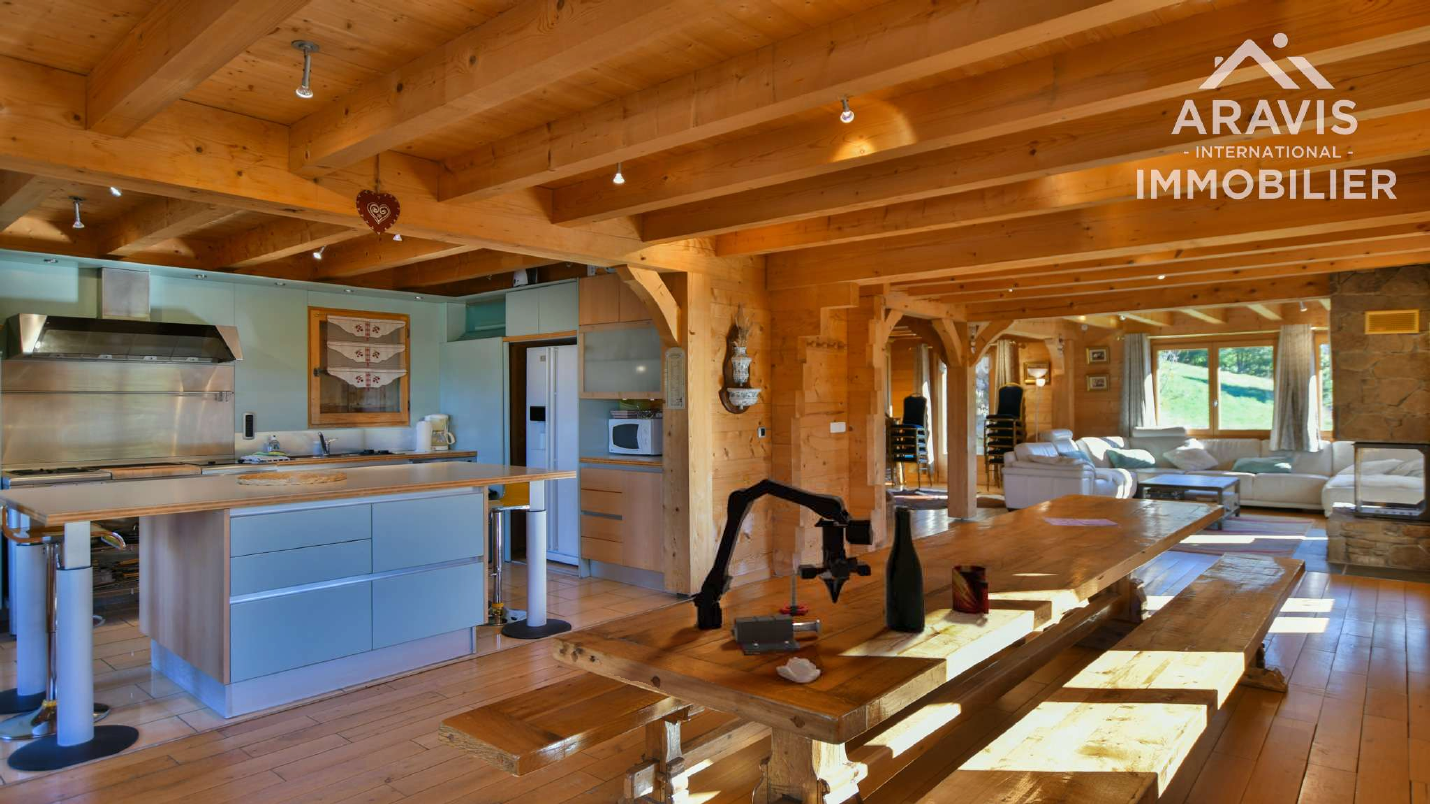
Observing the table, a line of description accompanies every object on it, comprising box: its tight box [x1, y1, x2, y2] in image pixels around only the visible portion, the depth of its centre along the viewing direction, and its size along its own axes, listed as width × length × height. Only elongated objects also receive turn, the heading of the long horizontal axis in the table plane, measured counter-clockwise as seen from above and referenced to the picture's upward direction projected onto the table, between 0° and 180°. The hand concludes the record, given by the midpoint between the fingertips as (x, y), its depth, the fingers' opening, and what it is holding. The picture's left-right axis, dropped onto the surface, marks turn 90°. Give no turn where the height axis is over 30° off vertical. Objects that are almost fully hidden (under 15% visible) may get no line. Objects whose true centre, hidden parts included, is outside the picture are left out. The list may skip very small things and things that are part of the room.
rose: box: [776, 656, 821, 684], centre depth 180 cm, size 10×4×10 cm
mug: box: [951, 564, 990, 615], centre depth 230 cm, size 10×14×12 cm
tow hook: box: [780, 569, 810, 615], centre depth 236 cm, size 8×13×9 cm
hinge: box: [731, 613, 803, 656], centre depth 208 cm, size 15×23×6 cm, turn 8°
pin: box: [793, 619, 822, 634], centre depth 209 cm, size 15×3×3 cm, turn 98°
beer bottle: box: [884, 505, 926, 633], centre depth 215 cm, size 10×10×33 cm
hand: (834, 602), depth 211 cm, fingers closed
